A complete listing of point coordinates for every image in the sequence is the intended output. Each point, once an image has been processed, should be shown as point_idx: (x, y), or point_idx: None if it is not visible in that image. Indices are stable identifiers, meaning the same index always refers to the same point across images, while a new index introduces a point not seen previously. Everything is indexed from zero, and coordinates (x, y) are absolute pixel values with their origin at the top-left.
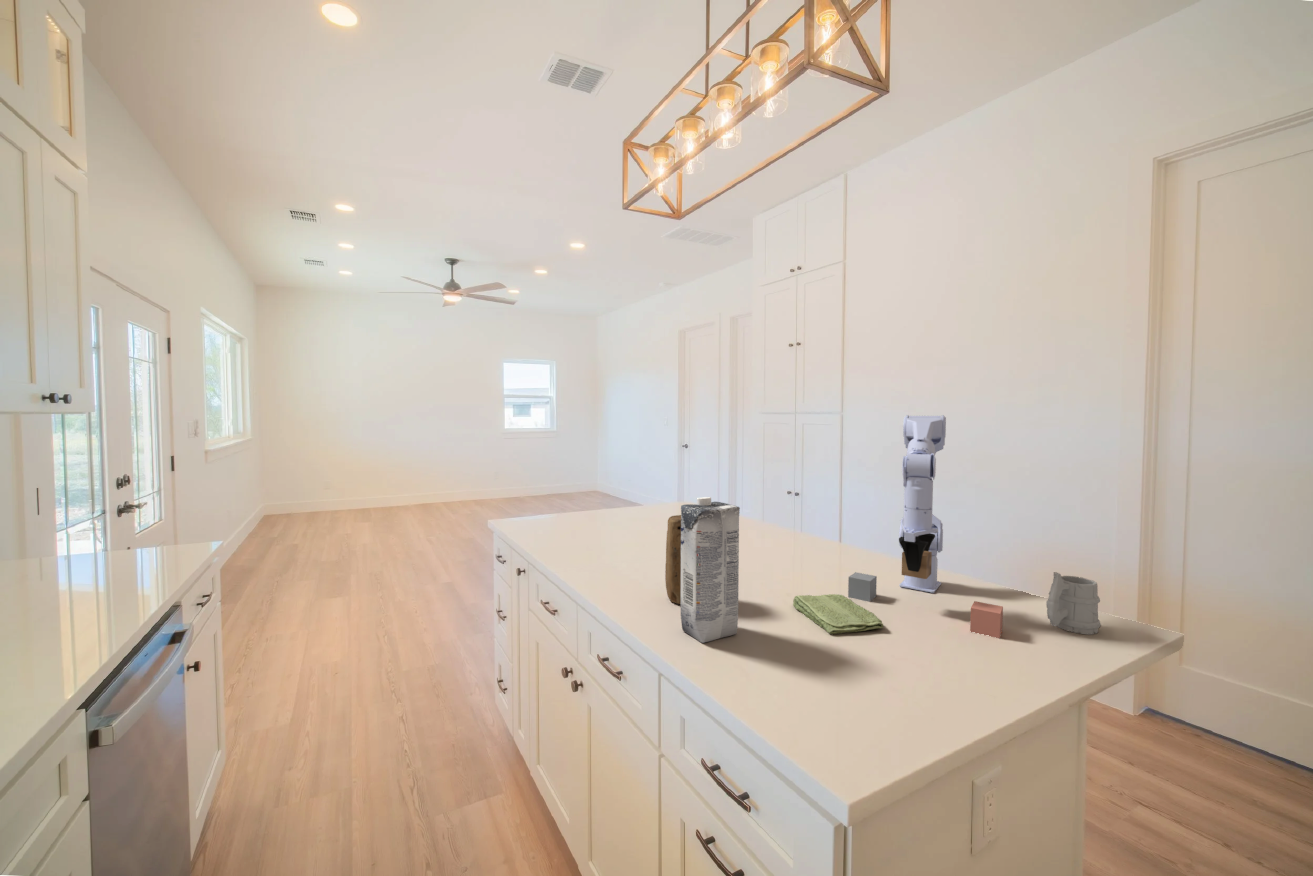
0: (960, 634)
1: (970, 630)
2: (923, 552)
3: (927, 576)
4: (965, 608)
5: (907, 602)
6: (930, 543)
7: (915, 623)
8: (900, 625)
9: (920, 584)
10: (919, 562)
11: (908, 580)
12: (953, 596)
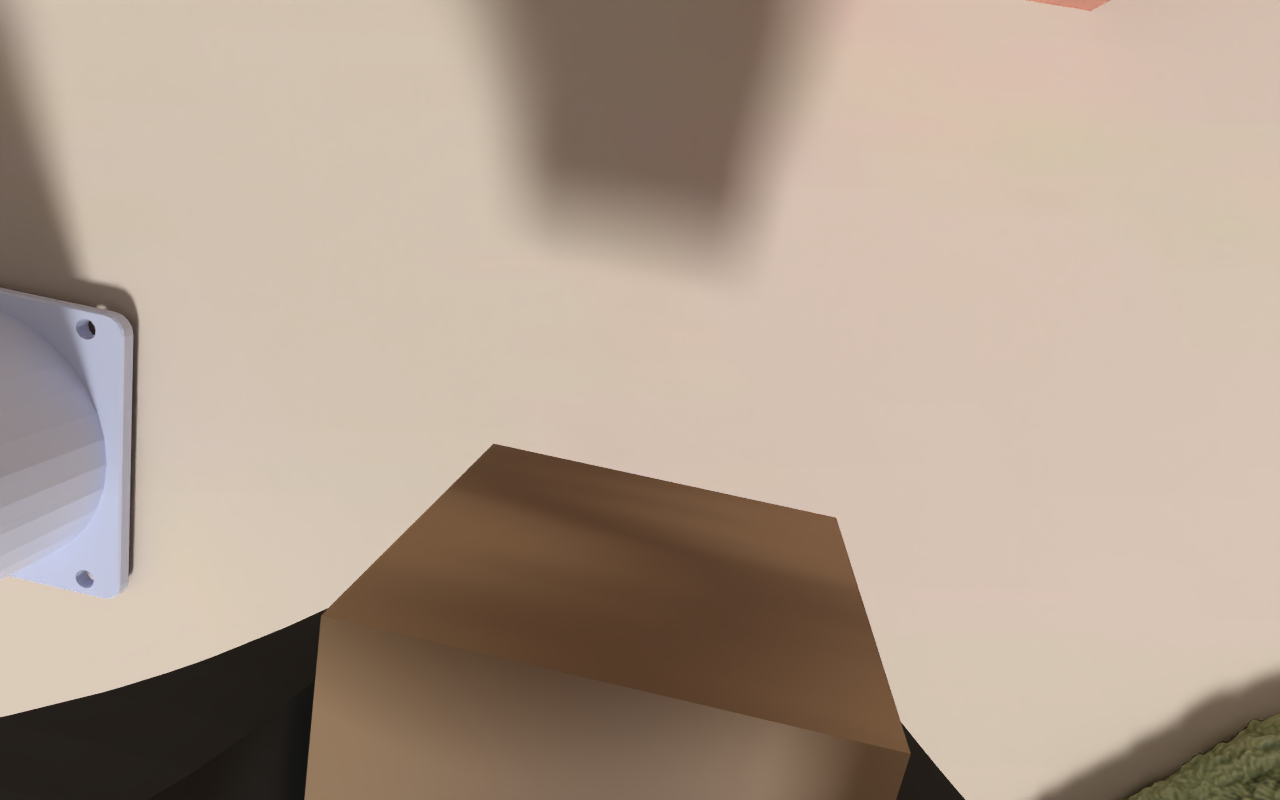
0: (1195, 99)
1: (1098, 3)
2: (502, 794)
3: (751, 507)
4: (404, 37)
5: None
6: (141, 793)
7: (1049, 467)
8: (1152, 579)
9: (72, 442)
10: (949, 790)
11: (43, 548)
12: (102, 142)
